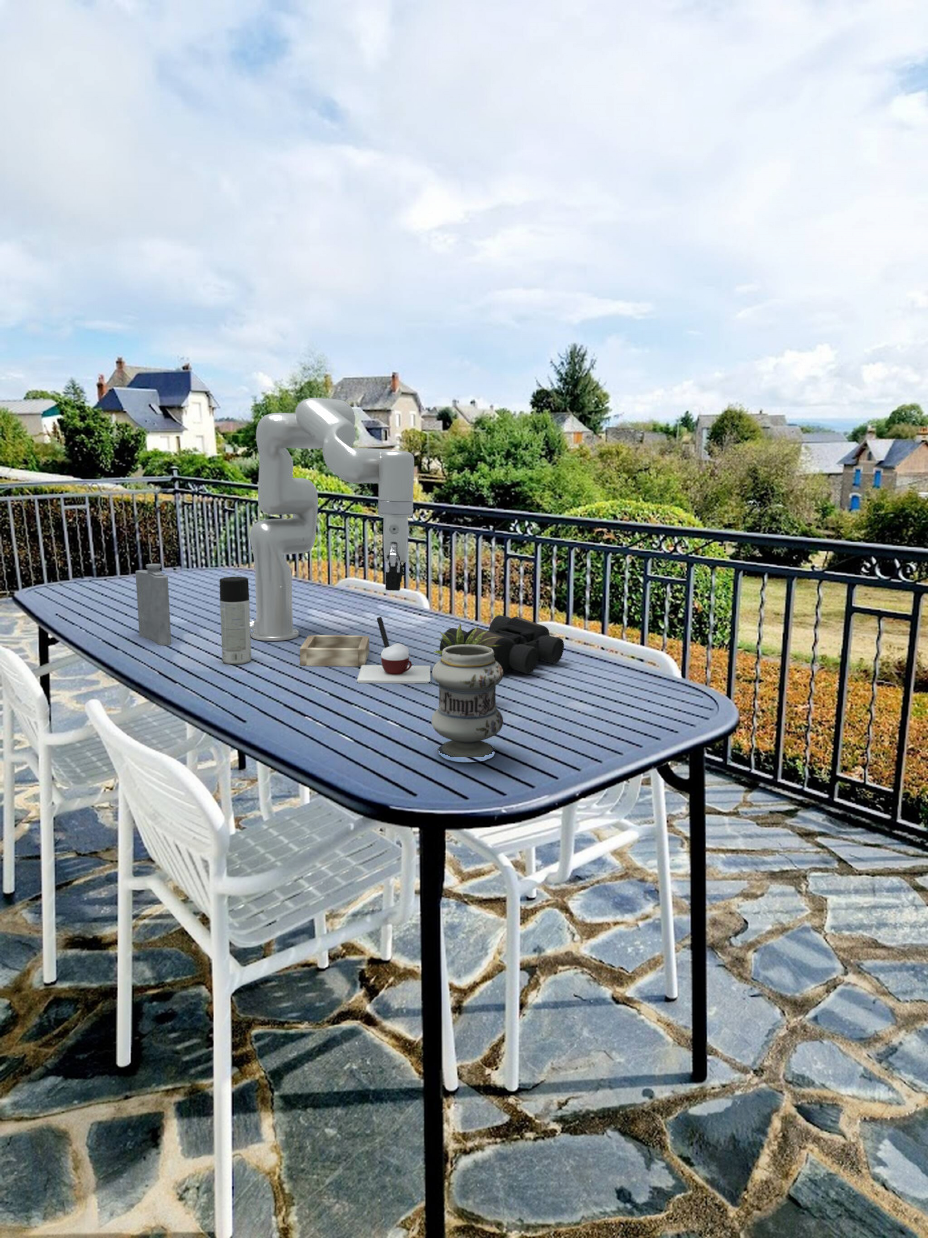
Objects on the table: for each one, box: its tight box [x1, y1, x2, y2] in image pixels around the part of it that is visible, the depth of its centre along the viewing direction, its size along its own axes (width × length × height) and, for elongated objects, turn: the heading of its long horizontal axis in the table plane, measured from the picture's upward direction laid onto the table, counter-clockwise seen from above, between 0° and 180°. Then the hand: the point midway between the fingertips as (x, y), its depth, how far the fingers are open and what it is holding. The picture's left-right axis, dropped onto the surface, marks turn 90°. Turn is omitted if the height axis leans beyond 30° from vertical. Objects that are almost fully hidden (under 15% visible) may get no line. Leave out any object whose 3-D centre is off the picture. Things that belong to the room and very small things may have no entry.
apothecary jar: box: [430, 644, 504, 757], centre depth 133 cm, size 12×12×18 cm
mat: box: [356, 664, 431, 684], centre depth 181 cm, size 16×13×1 cm
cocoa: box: [376, 616, 413, 675], centre depth 180 cm, size 10×6×12 cm, turn 34°
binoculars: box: [439, 614, 565, 675], centre depth 193 cm, size 29×20×10 cm
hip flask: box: [135, 563, 172, 646], centre depth 208 cm, size 16×4×20 cm, turn 42°
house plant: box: [433, 623, 500, 656], centre depth 160 cm, size 14×14×16 cm
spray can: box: [219, 576, 252, 665], centre depth 188 cm, size 7×7×20 cm
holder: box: [299, 634, 370, 667], centre depth 195 cm, size 15×15×4 cm
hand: (393, 586), depth 177 cm, fingers open, 9 cm apart
